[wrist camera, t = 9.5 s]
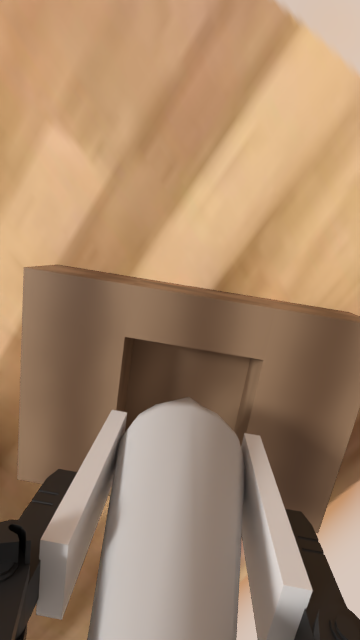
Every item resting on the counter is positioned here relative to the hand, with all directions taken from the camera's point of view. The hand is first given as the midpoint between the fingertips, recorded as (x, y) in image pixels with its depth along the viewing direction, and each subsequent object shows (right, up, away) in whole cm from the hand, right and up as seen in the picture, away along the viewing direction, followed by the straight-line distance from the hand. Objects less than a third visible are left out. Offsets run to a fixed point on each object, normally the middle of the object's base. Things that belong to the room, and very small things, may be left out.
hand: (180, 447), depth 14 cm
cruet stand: (0, +2, +7) cm, 7 cm away
